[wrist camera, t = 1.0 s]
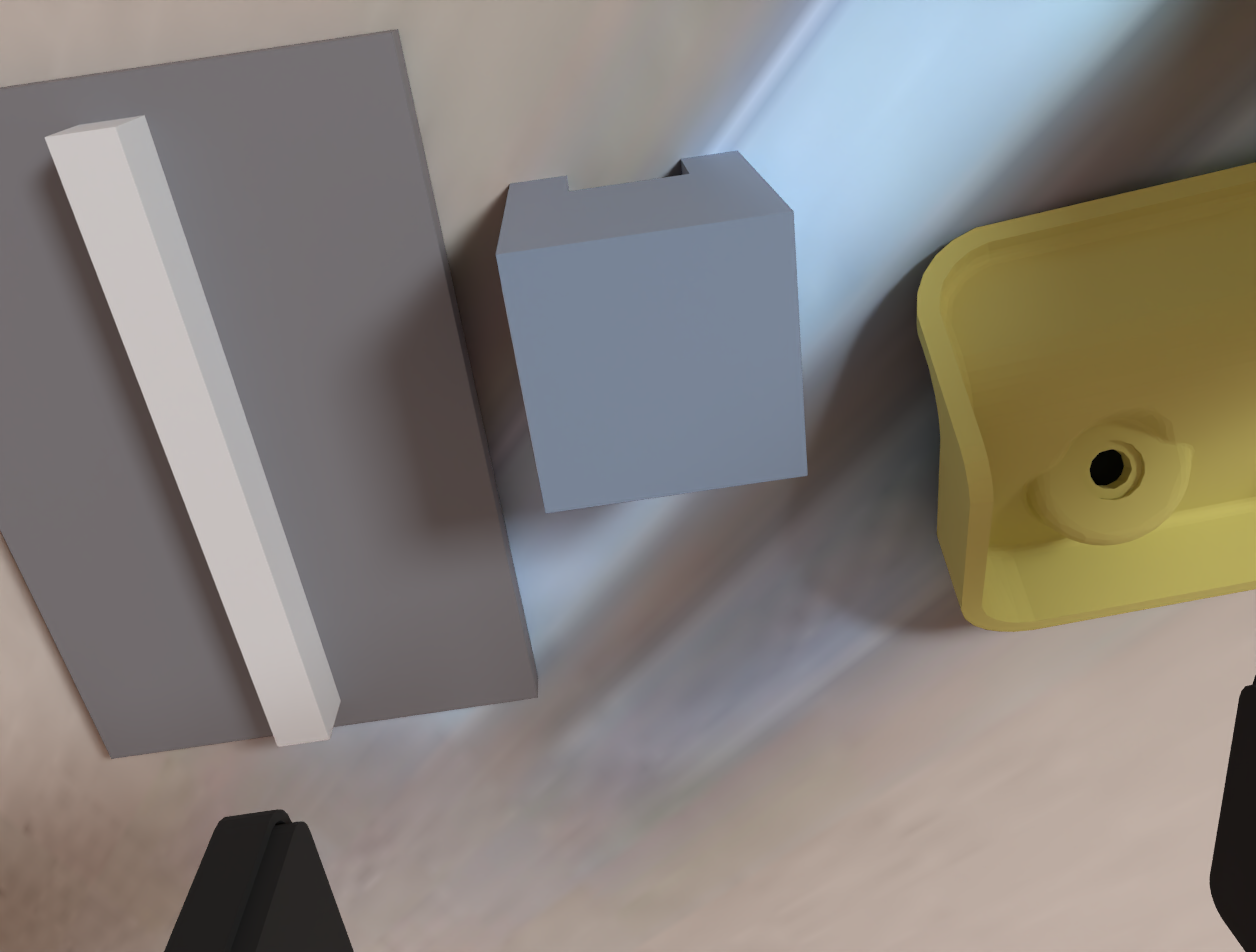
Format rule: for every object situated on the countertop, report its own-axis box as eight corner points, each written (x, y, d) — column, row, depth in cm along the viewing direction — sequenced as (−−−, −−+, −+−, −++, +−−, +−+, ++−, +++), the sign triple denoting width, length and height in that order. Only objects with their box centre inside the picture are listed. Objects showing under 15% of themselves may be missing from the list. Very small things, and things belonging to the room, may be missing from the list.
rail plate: (-173, 113, 25) (-254, 131, 22) (398, 29, 25) (380, 37, 22) (123, 737, 34) (88, 799, 31) (538, 677, 34) (536, 735, 31)
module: (507, 184, 26) (493, 255, 20) (739, 150, 26) (796, 211, 20) (546, 394, 29) (543, 513, 23) (755, 364, 29) (809, 475, 23)
